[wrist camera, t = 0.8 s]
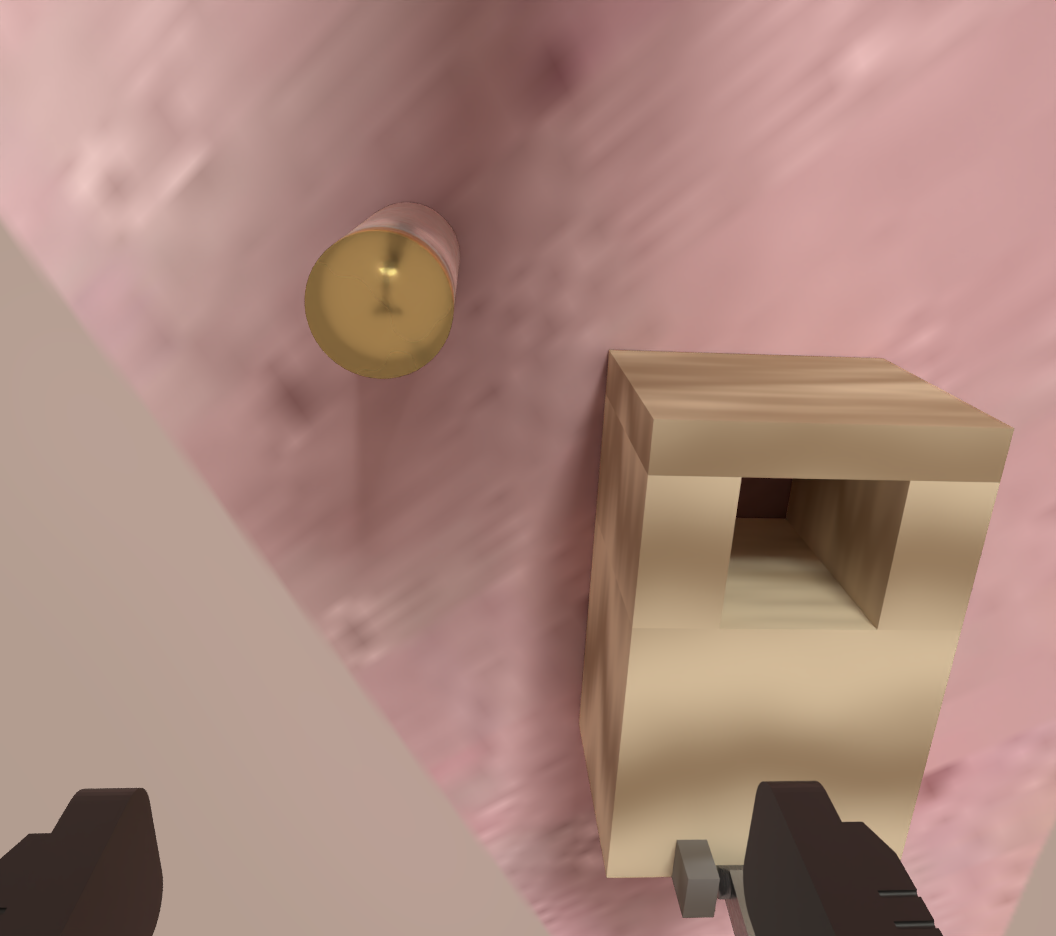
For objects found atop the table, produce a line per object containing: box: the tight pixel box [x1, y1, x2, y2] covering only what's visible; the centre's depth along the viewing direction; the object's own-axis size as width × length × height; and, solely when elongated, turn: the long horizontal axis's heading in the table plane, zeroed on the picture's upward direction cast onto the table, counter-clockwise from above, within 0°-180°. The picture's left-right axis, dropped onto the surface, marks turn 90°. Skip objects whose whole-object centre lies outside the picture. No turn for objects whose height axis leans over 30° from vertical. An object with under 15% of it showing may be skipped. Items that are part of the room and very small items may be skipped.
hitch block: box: [579, 350, 1014, 918], centre depth 29 cm, size 16×10×10 cm, turn 177°
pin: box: [305, 202, 460, 379], centre depth 24 cm, size 3×3×10 cm
